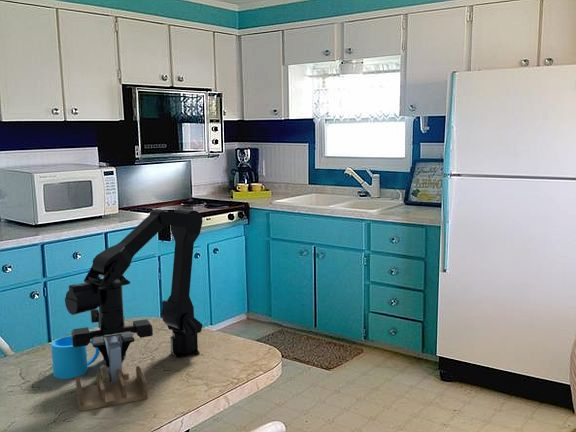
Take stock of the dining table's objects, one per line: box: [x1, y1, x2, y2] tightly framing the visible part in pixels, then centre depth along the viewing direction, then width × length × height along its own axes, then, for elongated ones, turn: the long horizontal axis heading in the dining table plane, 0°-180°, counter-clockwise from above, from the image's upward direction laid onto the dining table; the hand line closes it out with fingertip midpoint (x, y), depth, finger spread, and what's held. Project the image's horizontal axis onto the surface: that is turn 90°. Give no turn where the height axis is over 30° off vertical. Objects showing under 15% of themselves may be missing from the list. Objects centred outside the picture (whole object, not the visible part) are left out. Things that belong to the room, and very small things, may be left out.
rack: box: [75, 365, 149, 412], centre depth 137 cm, size 15×10×4 cm
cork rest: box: [100, 361, 130, 384], centre depth 147 cm, size 6×8×2 cm
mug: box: [50, 335, 100, 380], centre depth 151 cm, size 12×8×8 cm
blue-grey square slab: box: [106, 336, 123, 383], centre depth 146 cm, size 2×9×9 cm, turn 23°
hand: (114, 365), depth 147 cm, fingers closed on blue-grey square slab, 2 cm apart
